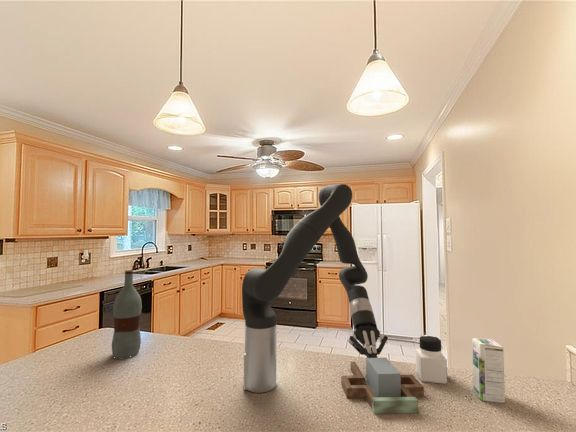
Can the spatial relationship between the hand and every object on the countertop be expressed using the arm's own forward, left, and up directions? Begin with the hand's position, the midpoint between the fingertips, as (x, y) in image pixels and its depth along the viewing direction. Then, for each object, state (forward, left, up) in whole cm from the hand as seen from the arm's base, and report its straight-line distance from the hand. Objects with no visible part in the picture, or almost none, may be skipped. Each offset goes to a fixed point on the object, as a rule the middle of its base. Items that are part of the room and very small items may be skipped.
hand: (374, 368), depth 87 cm
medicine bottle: (+18, +2, -4) cm, 19 cm away
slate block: (0, -6, -4) cm, 7 cm away
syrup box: (+28, -9, -4) cm, 30 cm away
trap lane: (0, -4, -4) cm, 6 cm away
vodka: (-84, +22, -4) cm, 87 cm away
